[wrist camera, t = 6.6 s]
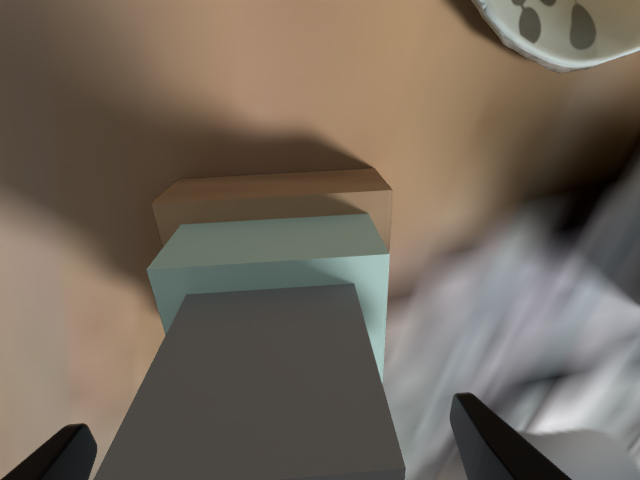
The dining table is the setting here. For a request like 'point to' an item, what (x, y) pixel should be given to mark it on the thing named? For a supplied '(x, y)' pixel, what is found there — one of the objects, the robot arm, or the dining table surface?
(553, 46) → the salad plate
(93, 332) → the dining table surface
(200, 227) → the teal slab
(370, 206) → the tan flat block
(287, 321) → the charcoal block
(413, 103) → the dining table surface
